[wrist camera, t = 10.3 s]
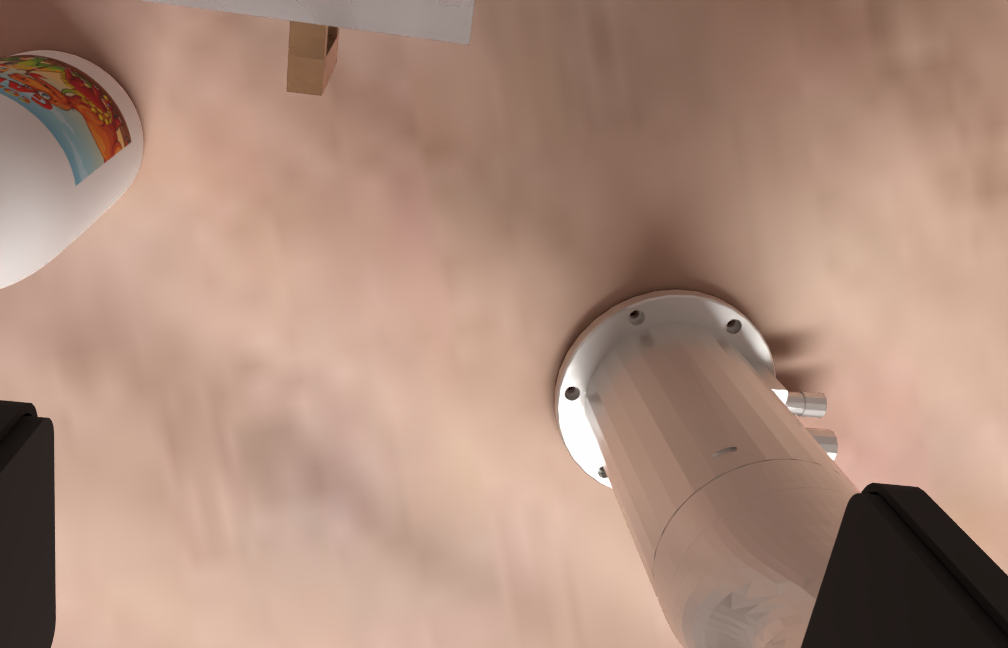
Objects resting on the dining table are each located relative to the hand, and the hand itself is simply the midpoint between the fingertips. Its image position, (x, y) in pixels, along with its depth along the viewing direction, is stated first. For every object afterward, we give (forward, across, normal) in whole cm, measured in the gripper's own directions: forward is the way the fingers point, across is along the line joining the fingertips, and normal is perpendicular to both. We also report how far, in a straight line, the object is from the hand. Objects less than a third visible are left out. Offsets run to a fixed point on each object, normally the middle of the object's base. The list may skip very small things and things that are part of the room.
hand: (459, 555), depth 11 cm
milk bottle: (+37, +17, +3) cm, 41 cm away
